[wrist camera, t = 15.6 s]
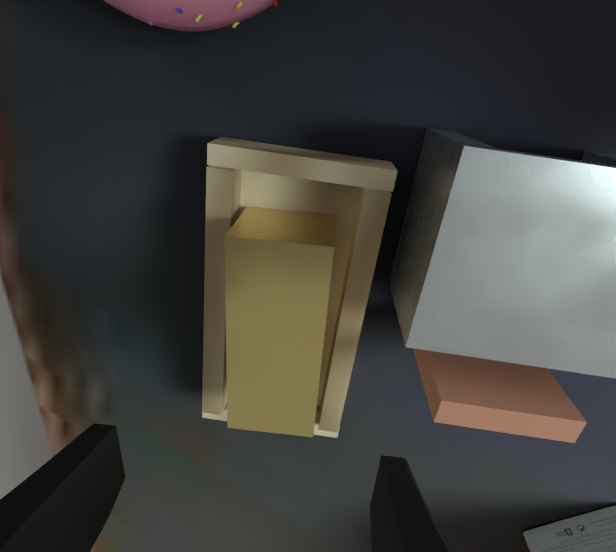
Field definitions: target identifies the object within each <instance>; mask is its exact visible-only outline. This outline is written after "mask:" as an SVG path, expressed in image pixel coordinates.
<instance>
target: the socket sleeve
mask: <svg viewBox="0 0 616 552" xmlns="http://www.w3.org/2000/svg"><path fill="white" fill-rule="evenodd" d="M389 285H390V289H391V292H392V296H393V300H394V304H395V308H396V312H397V316H398V320H399V324H400V328H401V332H402V335H403V339H404V343H405V347H408V348H415V349H422V350H428V351H435V352H442V353H449V354H455V355H462V356H469V357H475V358H482V359H489V360H496V361H502V362H509V363H516V364H522V365H529V366H536V367H543V368H549V369H556V370H563V371H569V372H576V373H583V374H590V375H596V376H603V377H610V378H616V155H610V154H604V153H597V152H590V151H584V154H583V156H582V158H581V161H580V160H573V159H567V158H560V157H553V156H546V155H539V154H532V153H525V152H519V151H512V150H505V149H498V148H495V147H493V146H490V145H488V144H485V143H483V142H480V141H477V140H475V139H472V138H470V137H467V136H465V135H462V134H460V133H457V132H453V131H446V130H439V129H432V128H426V132H425V137H424V141H423V145H422V149H421V153H420V157H419V161H418V165H417V169H416V173H415V177H414V181H413V185H412V189H411V193H410V197H409V201H408V205H407V210H406V214H405V218H404V222H403V226H402V230H401V234H400V238H399V242H398V246H397V250H396V254H395V258H394V262H393V266H392V270H391V274H390V278H389Z"/></svg>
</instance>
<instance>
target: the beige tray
mask: <svg viewBox="0 0 616 552" xmlns="http://www.w3.org/2000/svg"><path fill="white" fill-rule="evenodd" d="M207 165H209V166H207V167H206V221H205V278H204V335H203V391H202V418H209V419H215V420H222V421H228V418H227V359H226V301H225V242H224V236H225V235H226V234H227V232H228V231H229V230H230V228H231V227H232V226H233V225H234V223H235V222H236V221H237V219H238V218H239V217H240V215H241V214H242V213H243V211H244V210H245V209H246V207H247V206H249V207H260V208H270V209H281V210H292V211H302V212H313V213H324V214H334V215H335V247H334V256H333V265H332V274H331V283H330V292H329V300H328V309H327V318H326V327H325V336H324V345H323V354H322V363H321V371H320V380H319V389H318V398H317V407H316V416H315V425H314V434H315V435H322V436H328V437H335V438H337V437H338V432H339V428H340V421H341V416H342V412H343V407H344V403H345V399H346V394H347V390H348V385H349V381H350V376H351V372H352V368H353V363H354V359H355V354H356V350H357V345H358V341H359V337H360V332H361V328H362V323H363V319H364V314H365V310H366V305H367V301H368V297H369V292H370V288H371V283H372V279H373V274H374V270H375V266H376V261H377V257H378V252H379V248H380V243H381V239H382V235H383V230H384V226H385V221H386V217H387V212H388V208H389V204H390V199H391V195H392V194H391V192H393V190H394V185H395V181H396V176H397V172H398V171H397V169H396V168H395V166H394V165H393V163H392V162H390V161H384V160H377V159H370V158H363V157H356V156H349V155H343V154H336V153H329V152H322V151H315V150H308V149H302V148H295V147H288V146H281V145H274V144H267V143H260V142H254V141H247V140H240V139H233V138H226V137H220V138H218V139H215V140H213V141H211V142H209V143H207Z"/></svg>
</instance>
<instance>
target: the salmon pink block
mask: <svg viewBox="0 0 616 552" xmlns="http://www.w3.org/2000/svg"><path fill="white" fill-rule="evenodd" d="M413 350H414V354H415V357H416V361H417V365H418V368H419V372H420V375H421V379H422V382H423V386H424V389H425V393H426V396H427V400H428V403H429V407H430V411H431V414H432V418H433V421H434V422H437V423H444V424H451V425H457V426H464V427H471V428H477V429H484V430H491V431H497V432H504V433H511V434H517V435H524V436H531V437H537V438H544V439H551V440H557V441H564V442H571V443H575V442H576V440H577V438H578V437H579V435H580V433H581V432H582V430H583V428H584V427H585V425H586V423H587V422H586V420H585V419H584V418H583V416H582V415H581V414H580V412H579V411H578V409H577V408H576V407H575V405H574V404H573V403H572V401H571V400H570V399H569V397H568V396H567V395H566V393H565V392H564V390H563V389H562V388H561V386H560V385H559V384H558V382H557V381H556V380H555V378H554V377H553V376H552V374H551V373H550V371H549V370H548V369H547V368H543V367H536V366H529V365H522V364H516V363H509V362H502V361H496V360H489V359H482V358H475V357H469V356H462V355H455V354H449V353H442V352H435V351H428V350H422V349H415V348H413Z"/></svg>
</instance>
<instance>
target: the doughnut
mask: <svg viewBox="0 0 616 552" xmlns="http://www.w3.org/2000/svg"><path fill="white" fill-rule="evenodd" d="M103 1H105V2H106V3H108V4H110V5H111V6H113V7H115V8H116V9H118V10H120V11H122V12H124V13H126V14H127V15H129V16H131V17H134V18H136V19H138V20H140V21H143V22H145V23H148V24H150V25H151V26H152V25H155V26H158V27H162V28H167V29H172V30H178V31H188V32H196V31H207V30H213V29H218V28H222V27H226V26H230V25H232V27H233V28H235V27H236V26H237V25H238V24H239V23H240V22H241V21H244V20H246V19H249V18H250V17H252V16H254V15H256V14H258V13H260V12H262V11H264V10H265V9H267V8H269V7H270V6H272V5H273V4H274V6H277V3H276V2H278V1H279V0H103Z"/></svg>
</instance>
